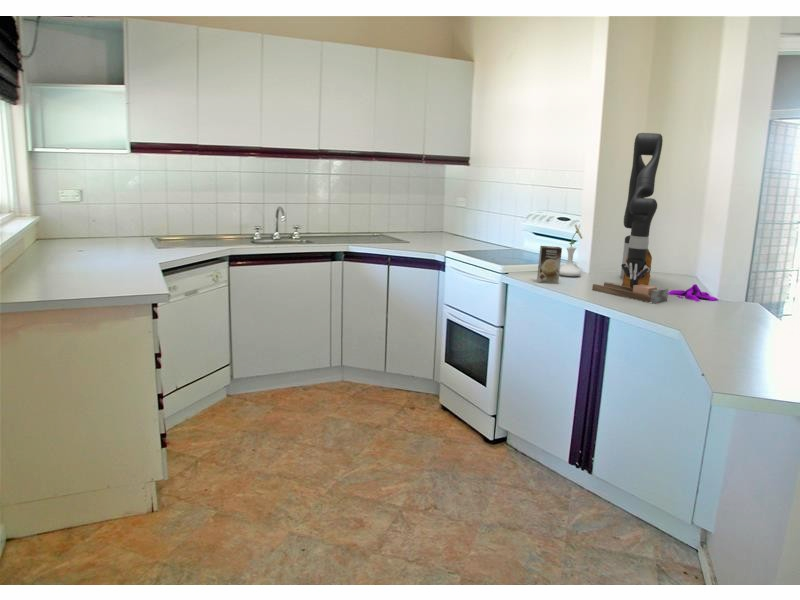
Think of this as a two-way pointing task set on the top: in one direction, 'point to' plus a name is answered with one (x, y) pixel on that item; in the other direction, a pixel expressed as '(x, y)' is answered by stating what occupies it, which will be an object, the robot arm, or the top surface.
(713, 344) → the top surface
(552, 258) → the coffee box
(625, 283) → the coffee package
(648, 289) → the block
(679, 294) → the cloth
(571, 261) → the flower in vase
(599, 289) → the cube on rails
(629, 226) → the robot arm
